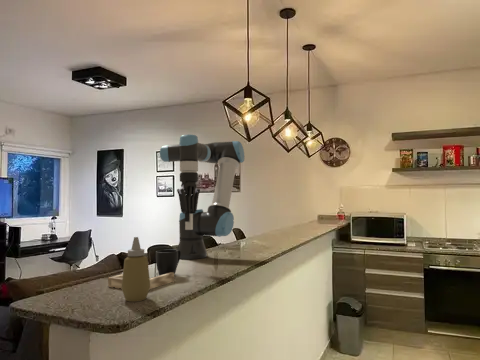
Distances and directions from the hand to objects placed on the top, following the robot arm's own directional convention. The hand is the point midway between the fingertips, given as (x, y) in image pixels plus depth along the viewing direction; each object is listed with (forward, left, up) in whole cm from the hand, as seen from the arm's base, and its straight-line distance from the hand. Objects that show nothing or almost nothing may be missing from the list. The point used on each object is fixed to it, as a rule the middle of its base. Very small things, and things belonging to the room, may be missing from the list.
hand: (189, 229), depth 149 cm
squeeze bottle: (+42, +12, -17) cm, 47 cm away
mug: (+12, 0, -17) cm, 20 cm away
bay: (+26, 0, -16) cm, 31 cm away
